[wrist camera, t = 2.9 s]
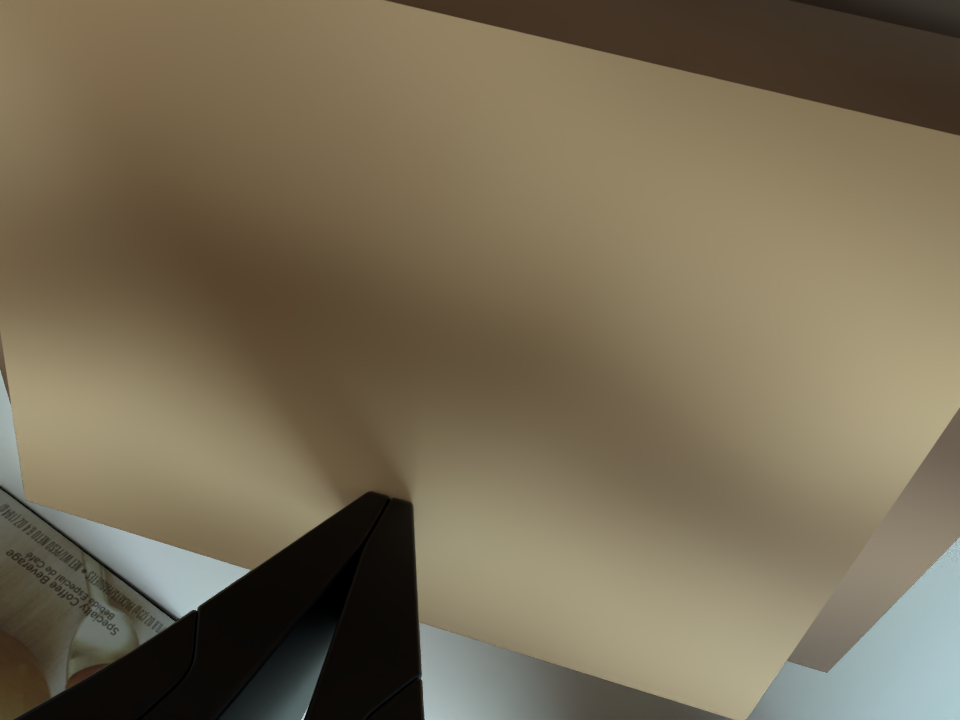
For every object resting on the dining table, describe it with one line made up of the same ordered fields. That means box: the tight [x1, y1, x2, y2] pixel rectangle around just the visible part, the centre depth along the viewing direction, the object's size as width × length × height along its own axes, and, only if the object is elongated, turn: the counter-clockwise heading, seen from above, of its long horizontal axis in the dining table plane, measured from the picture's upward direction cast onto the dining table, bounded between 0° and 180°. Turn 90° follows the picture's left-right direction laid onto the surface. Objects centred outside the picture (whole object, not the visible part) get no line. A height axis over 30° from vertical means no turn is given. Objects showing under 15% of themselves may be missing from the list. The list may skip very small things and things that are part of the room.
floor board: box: [0, 0, 960, 673], centre depth 9 cm, size 16×22×3 cm
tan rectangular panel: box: [0, 0, 960, 720], centre depth 8 cm, size 10×15×2 cm, turn 78°
